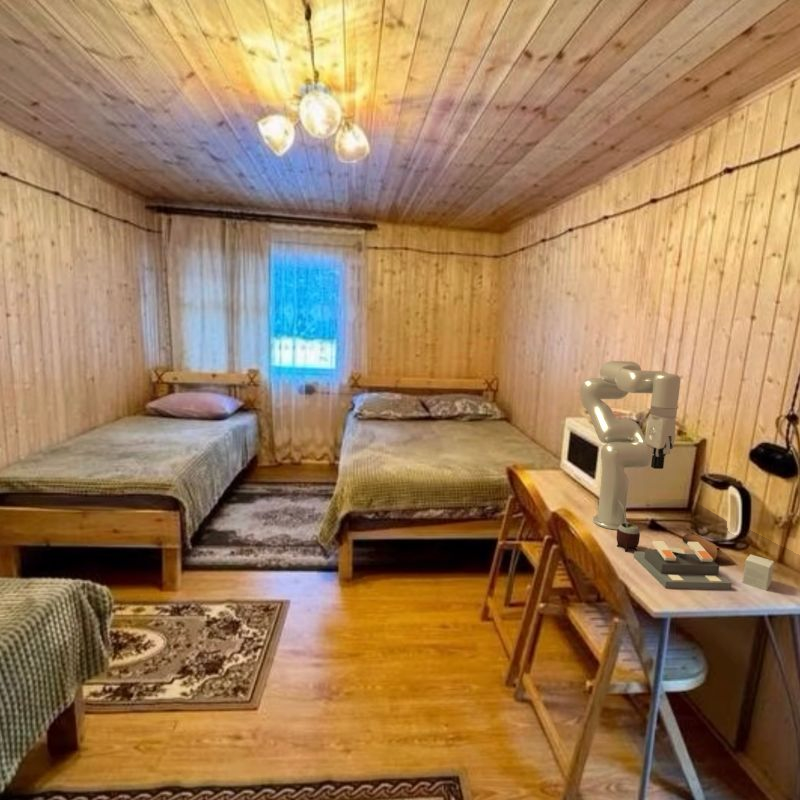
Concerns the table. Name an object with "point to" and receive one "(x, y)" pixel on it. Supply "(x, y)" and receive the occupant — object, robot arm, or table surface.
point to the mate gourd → (627, 534)
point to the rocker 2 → (700, 551)
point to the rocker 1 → (664, 550)
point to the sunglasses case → (710, 549)
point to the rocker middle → (682, 551)
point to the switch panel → (686, 578)
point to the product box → (758, 572)
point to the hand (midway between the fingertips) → (656, 467)
